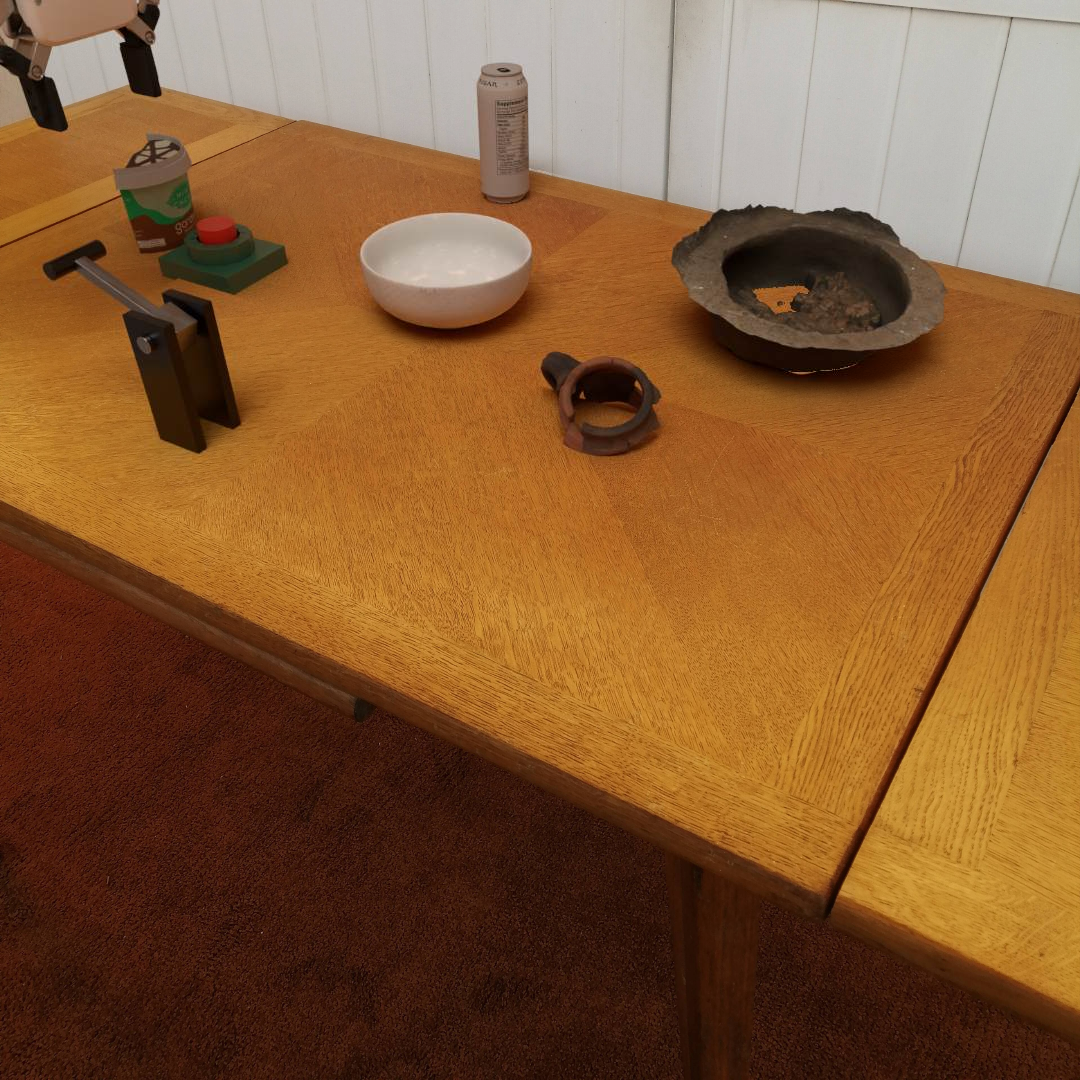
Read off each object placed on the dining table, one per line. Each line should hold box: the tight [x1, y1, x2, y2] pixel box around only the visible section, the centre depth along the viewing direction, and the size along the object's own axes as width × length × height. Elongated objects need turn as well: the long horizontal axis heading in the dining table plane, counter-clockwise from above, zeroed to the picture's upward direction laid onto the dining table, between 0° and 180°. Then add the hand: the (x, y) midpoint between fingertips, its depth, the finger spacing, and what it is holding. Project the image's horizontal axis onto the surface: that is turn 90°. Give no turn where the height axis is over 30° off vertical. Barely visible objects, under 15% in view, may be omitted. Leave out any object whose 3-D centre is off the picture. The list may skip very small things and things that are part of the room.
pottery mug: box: [540, 350, 663, 457], centre depth 84 cm, size 12×10×8 cm
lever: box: [42, 239, 197, 352], centre depth 78 cm, size 12×5×2 cm, turn 60°
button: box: [196, 215, 238, 245], centre depth 107 cm, size 4×4×2 cm
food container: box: [112, 132, 197, 255], centre depth 114 cm, size 12×6×10 cm, turn 179°
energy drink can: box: [476, 62, 530, 204], centre depth 121 cm, size 6×6×15 cm
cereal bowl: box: [359, 212, 533, 330], centre depth 100 cm, size 17×17×7 cm
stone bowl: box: [670, 203, 949, 372], centre depth 95 cm, size 25×25×9 cm
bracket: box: [121, 288, 242, 455], centre depth 80 cm, size 11×8×13 cm
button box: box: [157, 222, 289, 296], centre depth 109 cm, size 10×9×4 cm
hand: (102, 111), depth 83 cm, fingers open, 9 cm apart
